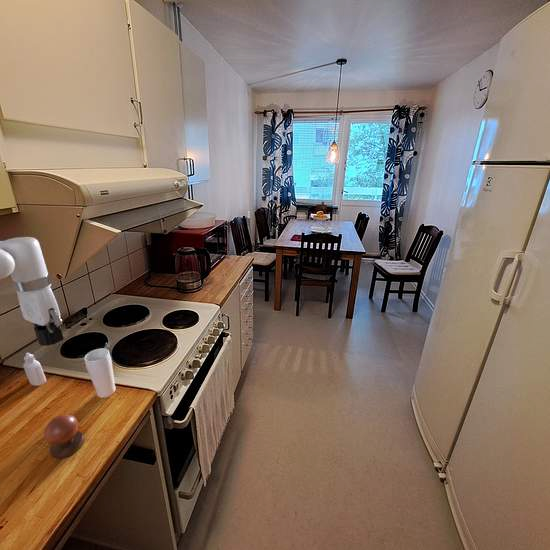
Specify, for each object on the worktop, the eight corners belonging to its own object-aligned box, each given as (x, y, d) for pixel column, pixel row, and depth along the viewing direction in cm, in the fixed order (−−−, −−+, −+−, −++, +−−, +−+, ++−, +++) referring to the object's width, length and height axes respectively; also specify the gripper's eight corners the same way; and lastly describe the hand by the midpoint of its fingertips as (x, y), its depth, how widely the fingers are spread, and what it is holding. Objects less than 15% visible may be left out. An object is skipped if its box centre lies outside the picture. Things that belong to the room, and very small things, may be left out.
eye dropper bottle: (45, 374, 100) (35, 346, 95) (47, 383, 96) (36, 354, 92) (29, 380, 97) (18, 351, 93) (30, 389, 93) (18, 360, 89)
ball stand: (62, 464, 71) (51, 436, 67) (45, 452, 74) (33, 425, 70) (90, 440, 77) (81, 413, 73) (73, 430, 80) (64, 404, 76)
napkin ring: (46, 347, 81) (41, 332, 79) (34, 342, 83) (29, 328, 81) (67, 337, 86) (62, 323, 84) (55, 333, 88) (51, 318, 86)
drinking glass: (91, 392, 93) (80, 354, 87) (114, 381, 97) (104, 345, 92) (98, 404, 88) (87, 365, 83) (121, 392, 93) (112, 354, 87)
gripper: (-2, 282, 77) (19, 338, 84) (36, 294, 71) (55, 354, 78) (29, 273, 84) (46, 326, 90) (67, 283, 77) (82, 339, 84)
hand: (50, 338), depth 84 cm, fingers closed on napkin ring, 5 cm apart
